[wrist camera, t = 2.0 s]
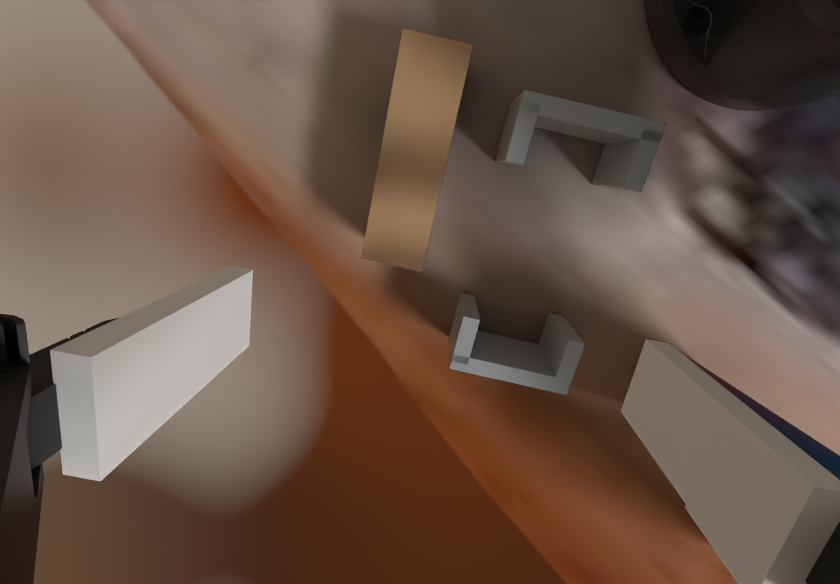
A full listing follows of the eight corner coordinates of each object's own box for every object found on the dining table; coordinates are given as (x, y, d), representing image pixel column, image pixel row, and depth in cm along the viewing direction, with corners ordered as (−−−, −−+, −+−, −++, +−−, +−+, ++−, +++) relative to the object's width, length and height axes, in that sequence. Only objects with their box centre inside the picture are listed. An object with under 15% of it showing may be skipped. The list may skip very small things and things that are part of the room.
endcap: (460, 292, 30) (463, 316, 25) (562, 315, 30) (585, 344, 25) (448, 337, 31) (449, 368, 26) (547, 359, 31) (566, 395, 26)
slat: (411, 53, 26) (402, 28, 21) (468, 66, 26) (473, 44, 21) (375, 243, 29) (361, 258, 25) (425, 254, 29) (421, 272, 25)
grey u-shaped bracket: (606, 187, 27) (641, 192, 22) (494, 161, 27) (505, 160, 22) (626, 130, 26) (666, 123, 21) (509, 103, 26) (524, 89, 21)
